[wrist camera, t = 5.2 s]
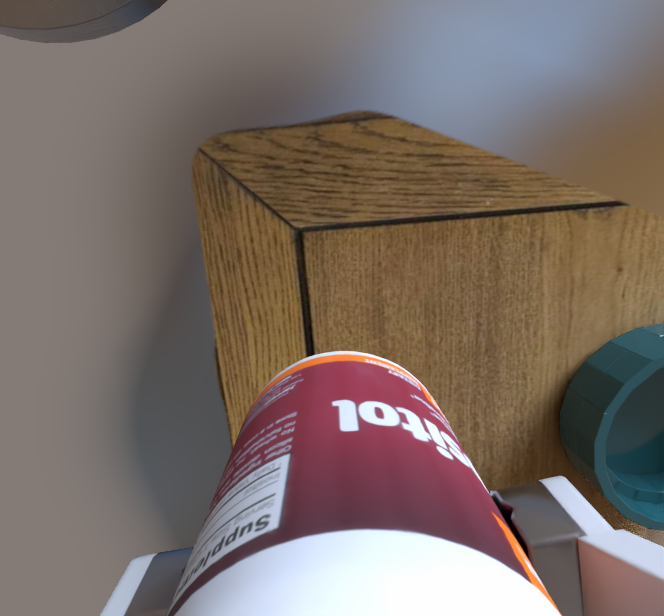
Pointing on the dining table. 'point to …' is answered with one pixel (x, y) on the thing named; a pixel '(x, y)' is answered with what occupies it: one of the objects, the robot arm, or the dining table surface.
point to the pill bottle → (354, 508)
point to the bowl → (621, 424)
